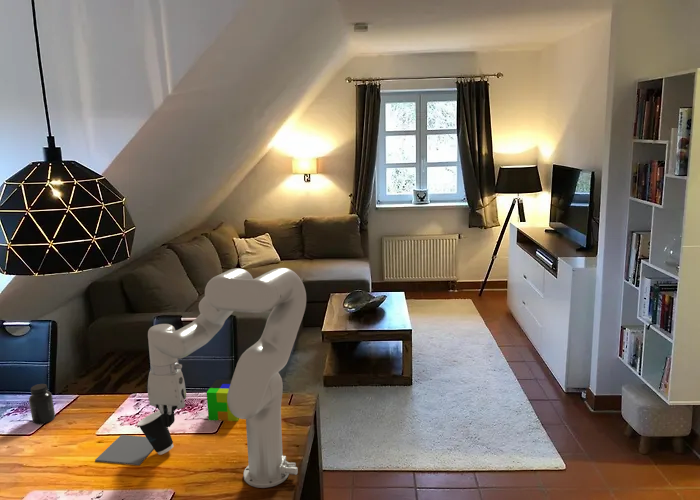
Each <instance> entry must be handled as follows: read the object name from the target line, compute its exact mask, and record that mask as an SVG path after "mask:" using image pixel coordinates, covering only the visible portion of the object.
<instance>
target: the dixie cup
mask: <svg viewBox="0 0 700 500" xmlns="http://www.w3.org/2000/svg"><path fill="white" fill-rule="evenodd" d="M137 427H139V429H140V430H141V432H142V433H143V434H144V437H146V438H147V439H148V441H149V442H150V444H151V445H152V447H153V448H154V450H153V451H155V452H156V453H157V454H158V455H160V456H161V455H163V454H166V453H168V452H170V451H171V450H172V449H173V448H174V441H173V438H172V436H171V433H170V432H171V431H170V430H169V427H167V426H166V427H164V422H163V418H162V414H161V413H160V410H158V411H155V412H152V413H151V414H148V415H147V416H145V417H144V418H142V419H141V420H140V421H138V423H137Z"/></svg>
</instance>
